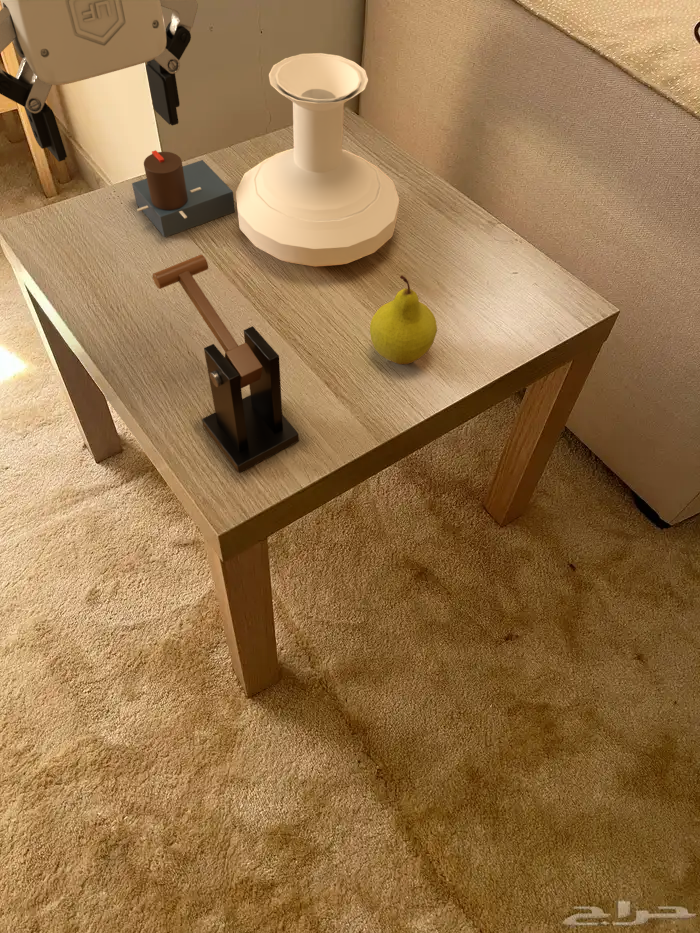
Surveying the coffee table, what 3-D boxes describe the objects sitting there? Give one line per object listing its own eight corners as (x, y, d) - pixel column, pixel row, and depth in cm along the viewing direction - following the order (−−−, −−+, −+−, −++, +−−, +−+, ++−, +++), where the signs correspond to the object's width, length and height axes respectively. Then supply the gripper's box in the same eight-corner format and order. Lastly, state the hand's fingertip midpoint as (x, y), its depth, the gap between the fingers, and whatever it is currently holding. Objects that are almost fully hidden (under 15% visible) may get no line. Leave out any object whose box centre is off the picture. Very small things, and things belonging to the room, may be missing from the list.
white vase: (421, 265, 87) (446, 112, 71) (266, 300, 82) (255, 145, 66) (360, 174, 97) (370, 22, 81) (219, 200, 92) (200, 45, 76)
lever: (152, 283, 65) (151, 267, 63) (200, 263, 67) (200, 247, 64) (226, 396, 62) (227, 384, 60) (273, 373, 64) (276, 360, 62)
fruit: (402, 323, 81) (414, 235, 71) (443, 357, 78) (463, 271, 68) (356, 350, 78) (363, 263, 68) (398, 386, 75) (411, 301, 65)
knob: (194, 202, 87) (187, 163, 82) (161, 214, 85) (153, 174, 81) (177, 184, 89) (170, 145, 84) (145, 195, 87) (136, 156, 83)
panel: (158, 250, 86) (153, 228, 83) (123, 208, 90) (117, 186, 88) (242, 219, 90) (240, 197, 87) (205, 180, 94) (202, 158, 92)
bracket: (203, 426, 71) (186, 343, 61) (262, 396, 74) (254, 312, 64) (238, 473, 68) (226, 394, 58) (299, 441, 71) (297, 360, 61)
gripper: (-78, -87, 38) (26, 192, 52) (203, -136, 44) (229, 125, 59) (-119, -130, 41) (-10, 143, 55) (148, -170, 48) (185, 85, 62)
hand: (112, 134), depth 57 cm, fingers open, 9 cm apart
